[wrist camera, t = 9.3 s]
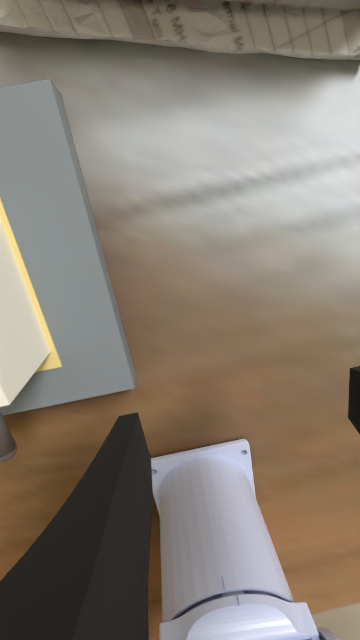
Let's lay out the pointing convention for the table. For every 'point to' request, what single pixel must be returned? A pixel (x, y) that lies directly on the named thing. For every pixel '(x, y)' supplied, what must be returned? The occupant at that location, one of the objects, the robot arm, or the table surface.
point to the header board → (58, 253)
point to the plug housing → (16, 338)
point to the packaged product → (199, 24)
